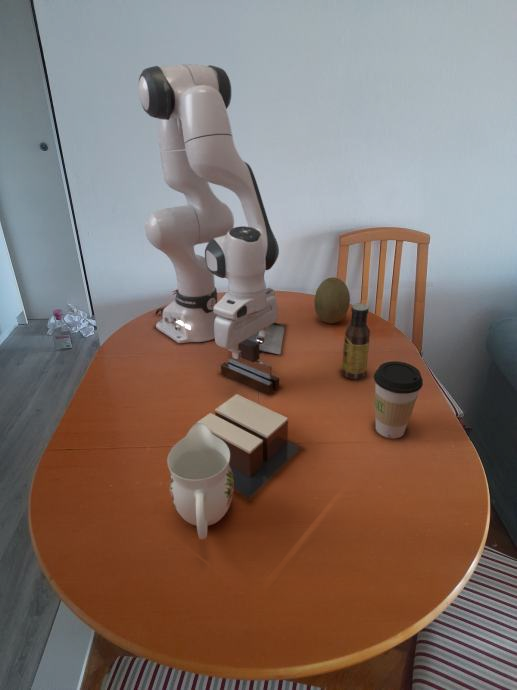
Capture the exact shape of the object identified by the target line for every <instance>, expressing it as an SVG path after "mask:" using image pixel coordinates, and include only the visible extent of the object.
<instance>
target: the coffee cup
mask: <svg viewBox="0 0 517 690" xmlns="http://www.w3.org/2000/svg"><path fill="white" fill-rule="evenodd" d="M373 381H374V383H375V386H374V417H375V430H376V432H377V433H378V434H379V435H380V436H382V437H385V438H388V439H399V438H401V437H403V435H405V432H406V430H407V429H406V428H407V427H408V426H407V425H408V423H409V422H410V419H411V416H412V413H413V410H414V407H415V404H416V402H417V399H418V395H419V391H421V389H422V388H423V385H424V380H423V377H422V374H421V371H420V370H419V368H417V367H416V366H415V365H412V364H410V363H407V362H403V361H398V360H396V361H394V360H393V361H386V362H383V363H381V364H380V365H379V366H378V368H377V369H376V370H375V371H374V374H373Z"/></svg>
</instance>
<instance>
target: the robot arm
mask: <svg viewBox="0 0 517 690" xmlns="http://www.w3.org/2000/svg"><path fill="white" fill-rule="evenodd" d="M137 89H138V97H139V101H140V104H141V107H142V109H143V111H144V112H145V113H146V114H147V115H148V116H149V117H150V118H151V117H152V118H155V119H157V120H158V121H157V122H158V123H157V133H158V136H157V137H158V145H159V154H160V160H161V167H162V168H161V169H162V174H163V180H164V182H165V184H166V185H167V186H168V187H169V188H171V189H172V190H174V191H175V192H178V193H181V194H183V195H184V198H185V199H186V202H187V204H186V205H185V204H184V205H179V206H178V205H177V206H171V207H164V208H161V209H159V210H156V211H154V212H152V213H150V214H149V215H148V216H147V218H146V219H145V225H144V232H145V237H146V238H147V240H148V242H149V243H150V245H152V247H154V248H155V249H157V250H159V251H160V252H162V253H163V254H165V255H166V257H168V259H169V261H170V262H171V263H172V265H173V268H174V273H175V277H176V284H177V288H176V290H173V291H172V295H173V296H174V295H175V298H174V300H173V301H172V302H170V303H169V304H168V305H166V306H164V307H160V308H157V310H156V311H155V313H154V314H155V315H158V313H160V314H161V317H162V318H161V319H160V320H159V321H158V322H156V324H155V328H156V329H157V330H158V331H160V332H162V333H163V334H164V335H166V336H167V337H169V338H170V339H172V340H173V341H175V343H177V344H185V343H202V342H208V341H211V340H214V342H215V344H216V346H218V347H219V348H222V349H224V350H227V351H228V350H229V349H230V350H231V351H232V357H233V358H235V359H238V358H240V357H241V356H242V355H241V354H242V352H241V351H240V350H238V344H239V343H241V342H242V341H244V340H246V339H247V338H249V337H251V336H253V335H254V334H256V333H258V332H259V335H258V336H257V343H259V344H263V343H264V342H265V336H266V334H267V331H268V326H270V325H271V324H273V323H277V321H278V318H279V309H278V301H277V298H276V291H275V290H274V289H273V288H271V287H268V288H267V283H266V280H265V273H266V271H269V270H271V269H272V268H273V266H274V265H275V264H276V262H277V260H278V258H279V254H280V248H279V243H278V241H277V238H276V236H275V234H274V232H273V230H272V227H271V224H270V222H269V218H268V216H267V211H266V209H265V205H264V202H263V198H262V195H261V192H260V189H259V186H258V182H257V180H256V179H257V178H256V177H255V173H254V171H253V169H252V167H251V165H250V164H249V163H248V162H246V161H244V160H243V159H242V157H241V156H240V154H239V151H238V150H237V148H236V145H235V142H234V138H233V131H232V126H231V122H230V117H229V113H228V111H227V109H228V108H229V107H230V104H231V100H232V84H231V80H230V78H229V76H228V73H227V72H226V70H224V69H223V68H221V67H218V66H215V65H201V64H189V63H183V64H178V65H177V64H176V65H165V66H158V65H153V66H150V67H147V68H144V69H143V70H142V72H141V73H140V75H139V78H138V87H137ZM210 184H213V185H216V186H220V187H222V188H225V189H228V190H229V191H231V192H233V193H234V194H235V196H237V198H238V199H239V202H240V204H241V208H242V210H243V214H244V217H245V220H246V224H247V226H245V225H244V226H243V225H242V226H241V225H240V226H236V227H235V217H234V214H233V211H232V209H231V208H230V207H229V206H228V205H227V203H225V202H223V201H221V199H220V198H218V196H217V195H216V194H215V193H214V191H213V190H212V188H211V185H210ZM202 244H206V247H205V248H204V256H203V255H200V254H196V252H195V246H198V245H202ZM215 277H218V278H221V279H227V280H228V286H227V291H226V293H225V294H224V295H223V296H222V298H220V300H218V291H217V290H218V289H217V287H216V282H215V281H216V280H215Z"/></svg>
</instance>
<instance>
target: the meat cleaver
mask: <svg viewBox="0 0 517 690" xmlns="http://www.w3.org/2000/svg"><path fill="white" fill-rule="evenodd" d="M285 329H286V325H285V324H281V323H278V322H275V323H273V324H271V325H270V326H268V331H267V334H266V336H265V342H264V343H263V344H259V352H264V353H270V354H274V355H281V352H282V347H283V339H284V334H285ZM258 335H259V332H258V333H256V334H254V335H253V336H251V337H249V338H247V339H248V340H251V341H253V342H256V343H257V336H258Z"/></svg>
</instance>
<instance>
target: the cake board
mask: <svg viewBox="0 0 517 690" xmlns="http://www.w3.org/2000/svg"><path fill="white" fill-rule="evenodd" d="M214 415H216V416H217V417H219V418H221V419H223V420H225V421H227V422H229V423H231V424H233V425H235V426H237V427H239V428H240V429H242V430H244V431H246V432H248V433H250V434H252V435H254V436H256V437H258V438H260V439H262V440H263V466H262V467H261V468H260V469H259V470H258V471H257V472H256V473H255V474H253V475H252V476H251V477H249V476H248V475H246V474H244V473H243V472H241V471H239V470H238V469H236V468H234V467H232V466H231V465H230V467H231V469H232V473H233V478H234V490H235V491H236V492H238V493H240V494H242V495H243V496H244V497H246V498H248V499H250V498H252V496H253V495H254V494H255V493H256V492H257V491H258V490H259V489H260V488H261V487H262V486H263V485H264V484H265V483H266V482H267V481H268V480H269V479H271V478H272V476H273V475H274V474H276V473H277V472H278V471H279V470H280V469H281V468H282V467H283V466H284V465H285V464H286V463H287V462H288V461H289V460H290V459H291V458H292V457H293V456H295V454H296V453H297V452H298V451H299V450H300V449H301V446H299V445H297V444H295V443H292V442H290V441H289V440H288V436H289V417H287V416H284V415H282V414H280V413H278V412H276V411H273V410H272V409H270V408H268V407H265V406H264V405H261V404H259V403H257V402H254V401H253V400H250V399H248V398H245V397H244V396H241V395H240V394H237V393H236V394H234V395H233V396H232V397H230V398H229V399H227V400H225V402H223V403H221V404H220V405H219V406H217V407H216V408H215V409H214Z"/></svg>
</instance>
